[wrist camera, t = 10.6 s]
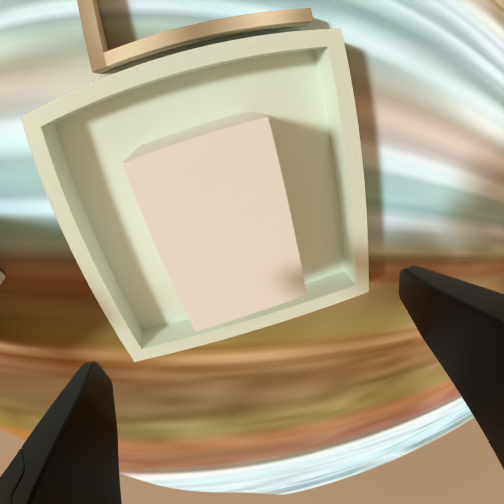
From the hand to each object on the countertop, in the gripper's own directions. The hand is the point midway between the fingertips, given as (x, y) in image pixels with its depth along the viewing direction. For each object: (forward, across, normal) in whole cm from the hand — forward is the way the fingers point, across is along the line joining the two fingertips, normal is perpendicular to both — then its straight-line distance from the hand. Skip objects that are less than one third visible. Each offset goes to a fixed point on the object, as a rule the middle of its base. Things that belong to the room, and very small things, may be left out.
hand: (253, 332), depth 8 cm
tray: (+12, 0, 0) cm, 12 cm away
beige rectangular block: (+11, 0, 0) cm, 11 cm away
